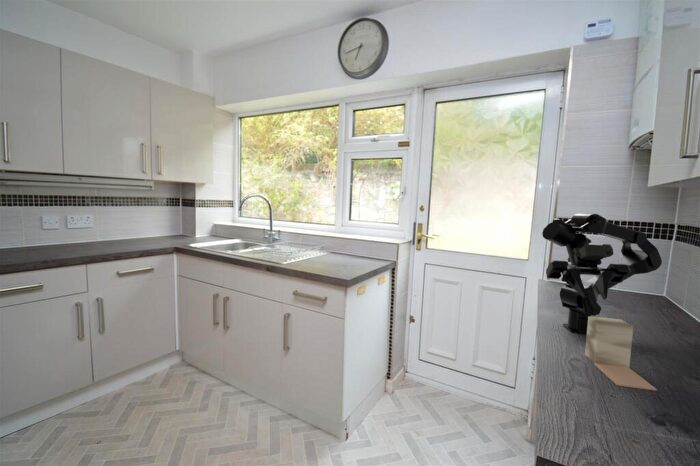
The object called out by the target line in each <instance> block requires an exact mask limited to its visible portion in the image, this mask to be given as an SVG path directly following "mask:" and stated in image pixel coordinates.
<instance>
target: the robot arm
mask: <svg viewBox="0 0 700 466" xmlns="http://www.w3.org/2000/svg"><path fill="white" fill-rule="evenodd" d="M584 233H586V234H597V235H600V236H604V237H608V238H611V239H614V240H617V241H621V243H622V245H621V249H620V252H621V255H622V256H621V258H620V262H618V263H609V265H608V266H607V267H606V268H602V267H598V266H600V265H601V264H602V263H603V262H602V260H603V259H607V258H610V257H612V256H614V248H613V247H612V245H611V243H610V244H609V243H607V244H606V243H605V244H604V243H602V244H591V243H592V240H591V239H590V238H588V237H587V235H585V234H584ZM541 235H542V237H543V239H545V240H547V241H549V242H551V243H553V244H555V245H557V246H559V247H565V248H566V252H567V254H568V257H567V260H554V259H553V260H551V261H550V262H549V263H548V266H547V268H546V269H545V274H546V277H547V279H551V280H555V279H556V280H559V279H560V280H561V281H562V282H565V283H564V285H563V286H562V287H561V288H560V291H559V299H560V301H561V307H563V308H567V309H568V315H567V323H562V326H563V327H564V328H566V329H567V330H568V331H569V332H571V333H577V334H584V335H585V334H586V335H587V326H588V316H591V317H597V315H600V314H601V311H602V306H600V304H599V303H598V298H599V295H600V297H601V298H602V299H603V301H604V300H606V299H607V298H608V291H609V290H610V289H611V288H612V287H614V286H616V285H619V284H621V283H623V282H624V281H625V280H627V279H629V278H631V277H633V276H634V275H642V274H643V275H644V274H649V273H652V272H655V271H657V270H659V269H660V267H661V266H662V262H663V260H662V256H661V255H660V253H659V250H658V248H657V247H656V246H655V245H654V244H653V243H652V242H651V241H649V239H648V237H647V235H646V233H644V232H643V231H640V230H639V231H638V230H634V229H631V228H628V227H624V226H621V225H618V224H615V223H611V222H609V221H608V219H607V218H605V217H603V216H602V215H600V214H598V213H581V212H579V213H575V214H573V216H572V217H571V218H570V219H568V220H567V221H564V220H562V219H560V218H554V219H553V220H552V222H550V223H548V224H547V225H546V226H545V227H544V228H543V229H542V234H541ZM632 244H633V245H637V247H638V248H639V249H640V250H638V249H633V248H632V246H631V245H632ZM582 275H583V276H593V277H591V278H590V279H587V280H583V279H582V278H581V276H582ZM561 277H562V278H561Z"/></svg>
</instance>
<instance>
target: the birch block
mask: <svg viewBox="0 0 700 466" xmlns="http://www.w3.org/2000/svg"><path fill="white" fill-rule="evenodd" d="M633 335H634V325H632V324H630V323H628V322H626V321H625V320H623V319H620V318H610V317H601V316H592V315H591V316H588V326H587V334H586V339H585V340H586V341H585V351H584V356H585V357H587V358H588V359H589V360H590V361H591V362H593V364H594V363H598V364H606V365H615V366H623V367H629V368H630V364H631V355H632V354H631V353H632V343H633Z"/></svg>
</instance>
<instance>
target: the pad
mask: <svg viewBox="0 0 700 466" xmlns="http://www.w3.org/2000/svg"><path fill="white" fill-rule="evenodd" d="M593 365H594V366H595V367H596V368H598V370H599V371H600V372H602V373H603V374H604V376H606V377H607V378H608V379H610V381H611V382H612V383H614V384H615V386H618V387H626V388H633V389H639V390H640V389H642V390H648V391H657V390H658V389H657V388H656V387H655V386H653V385H652V384H650V383H649V382H648V381H647V380H646V379H644V378H643V377H642V376H640V375H639V374H638V373H636V372H635V371H634V370H632V369H631V368H630V366H629V367H623V366H615V365H606V364H598V363H594V362H593ZM657 392H658V391H657Z"/></svg>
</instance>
